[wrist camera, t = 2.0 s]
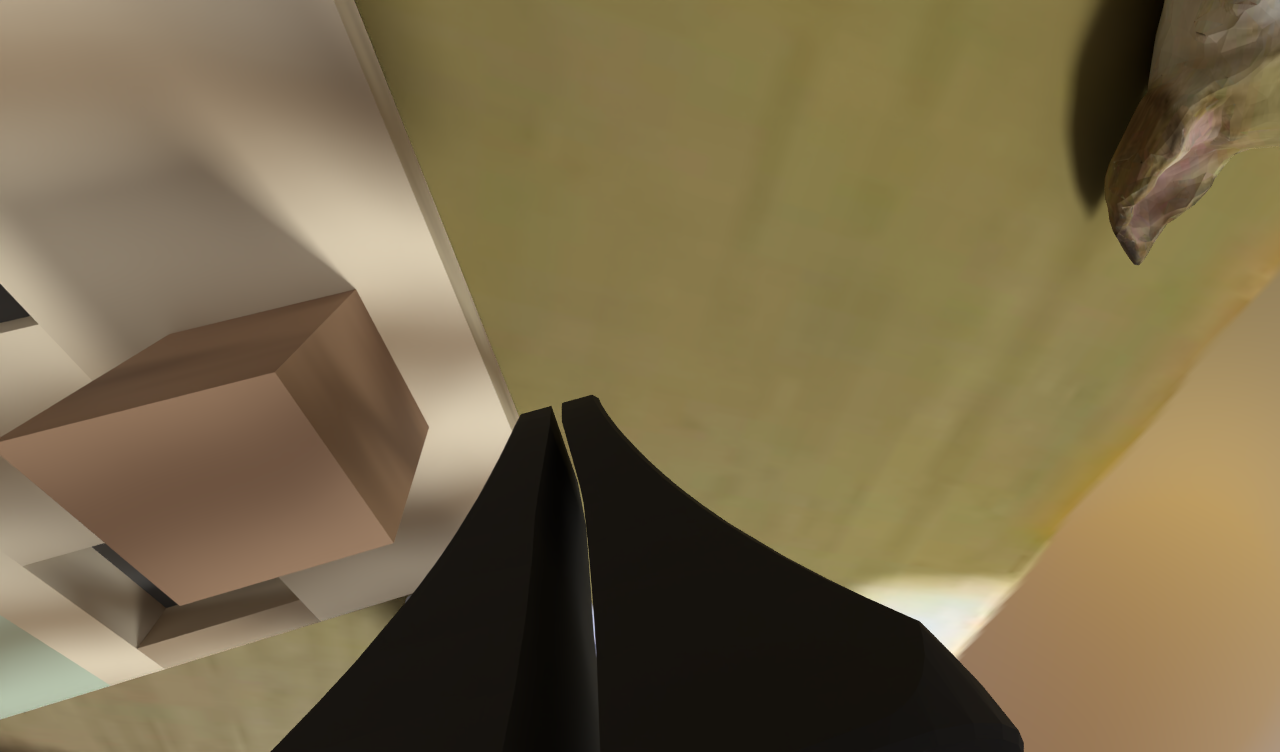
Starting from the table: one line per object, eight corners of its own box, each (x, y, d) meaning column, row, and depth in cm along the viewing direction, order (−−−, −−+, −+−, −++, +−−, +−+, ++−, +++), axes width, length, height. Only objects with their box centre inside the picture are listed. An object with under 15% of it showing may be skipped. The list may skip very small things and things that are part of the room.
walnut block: (429, 427, 16) (393, 543, 11) (276, 468, 15) (179, 606, 11) (355, 289, 13) (274, 372, 9) (169, 334, 13) (-13, 445, 8)
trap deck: (557, 513, 21) (563, 588, 18) (-61, 698, 19) (-188, 825, 16) (333, -54, 11) (248, -129, 8) (-1080, 189, 9) (-2116, 235, 5)
